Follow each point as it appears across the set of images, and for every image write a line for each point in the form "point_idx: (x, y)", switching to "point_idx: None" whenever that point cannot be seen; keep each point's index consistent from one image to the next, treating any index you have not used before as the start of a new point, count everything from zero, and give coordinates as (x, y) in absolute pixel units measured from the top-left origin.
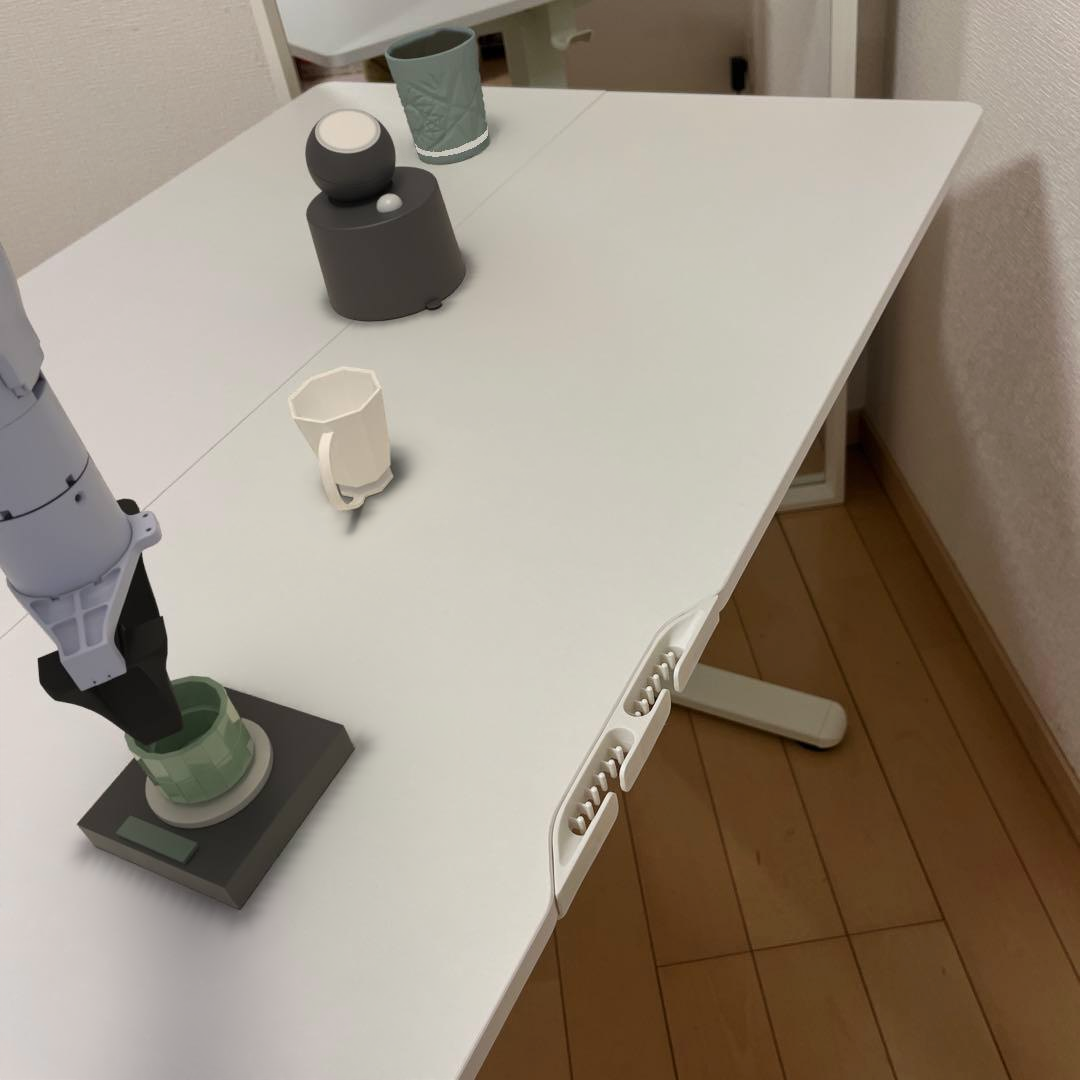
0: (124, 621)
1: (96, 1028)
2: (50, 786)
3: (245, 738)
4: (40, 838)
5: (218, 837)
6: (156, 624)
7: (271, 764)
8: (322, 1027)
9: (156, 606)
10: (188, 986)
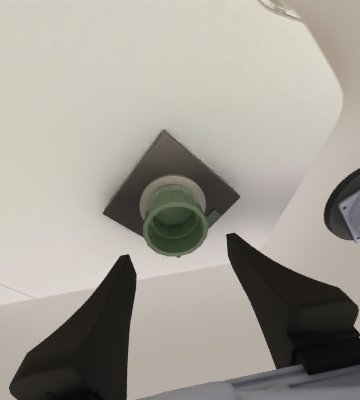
0: (130, 287)
1: (255, 236)
2: (139, 266)
3: (178, 189)
4: (165, 265)
5: (212, 200)
6: (315, 313)
7: (180, 175)
8: (300, 157)
9: (121, 268)
10: (256, 207)
